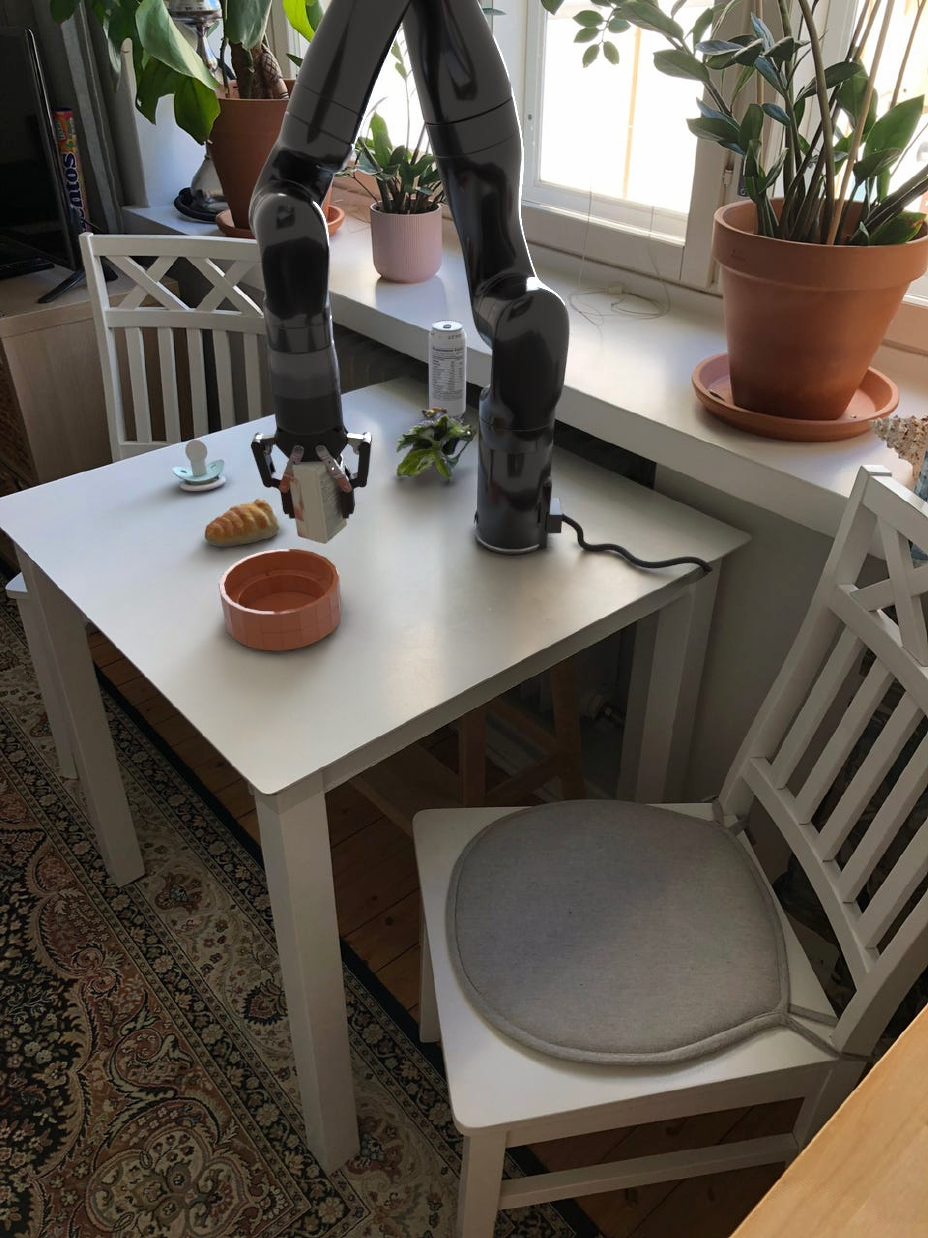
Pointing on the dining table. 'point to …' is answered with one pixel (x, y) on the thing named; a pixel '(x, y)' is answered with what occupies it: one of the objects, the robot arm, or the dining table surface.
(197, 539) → the dining table surface
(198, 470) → the pacifier
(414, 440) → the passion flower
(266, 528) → the pastry
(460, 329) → the energy drink can
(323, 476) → the printed white carton
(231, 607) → the bowl
